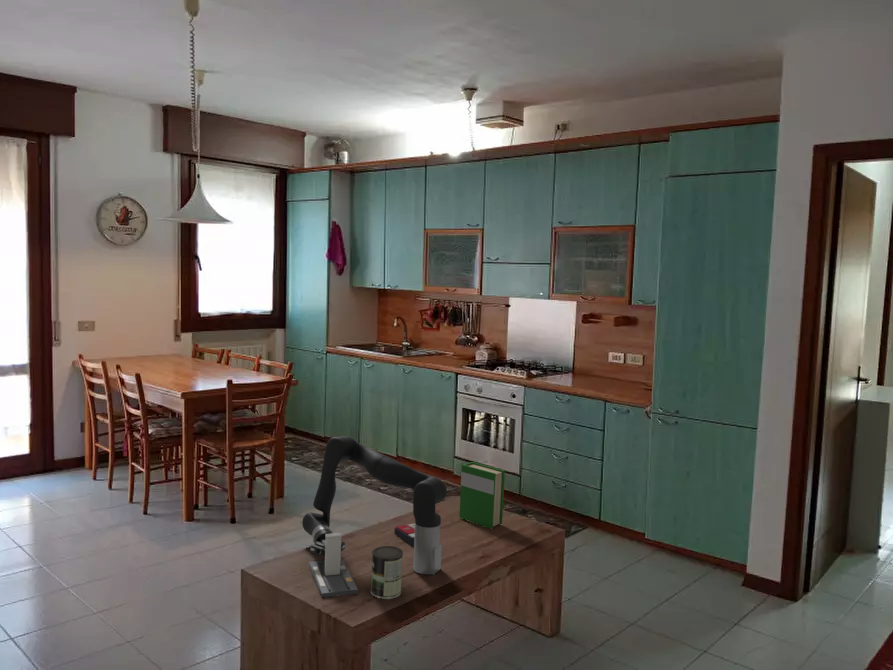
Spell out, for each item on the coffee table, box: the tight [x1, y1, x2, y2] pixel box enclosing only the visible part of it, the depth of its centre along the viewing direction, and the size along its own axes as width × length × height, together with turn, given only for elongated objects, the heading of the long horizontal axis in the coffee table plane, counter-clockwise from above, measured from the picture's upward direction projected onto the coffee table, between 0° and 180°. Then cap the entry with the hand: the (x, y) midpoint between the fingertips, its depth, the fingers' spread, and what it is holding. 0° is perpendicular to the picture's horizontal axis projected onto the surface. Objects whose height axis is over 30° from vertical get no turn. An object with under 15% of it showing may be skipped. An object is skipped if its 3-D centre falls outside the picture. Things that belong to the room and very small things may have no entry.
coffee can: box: [370, 545, 404, 600], centre depth 243 cm, size 10×10×14 cm
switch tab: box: [324, 532, 342, 576], centre depth 252 cm, size 2×5×14 cm, turn 110°
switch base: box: [308, 558, 359, 598], centre depth 252 cm, size 26×12×2 cm, turn 20°
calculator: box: [394, 522, 415, 547], centre depth 293 cm, size 11×4×15 cm
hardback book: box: [459, 461, 506, 529], centre depth 313 cm, size 18×7×24 cm, turn 49°
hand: (332, 556), depth 253 cm, fingers closed
